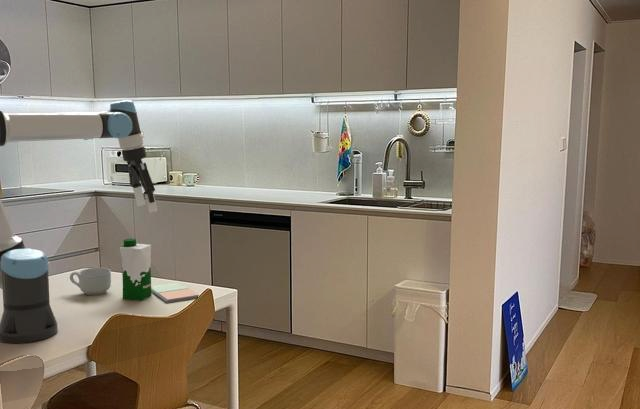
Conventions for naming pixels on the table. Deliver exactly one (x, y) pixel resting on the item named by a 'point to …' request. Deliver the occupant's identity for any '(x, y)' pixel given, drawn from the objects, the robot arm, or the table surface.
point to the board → (173, 292)
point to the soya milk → (136, 270)
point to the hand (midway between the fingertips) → (147, 208)
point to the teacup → (93, 280)
